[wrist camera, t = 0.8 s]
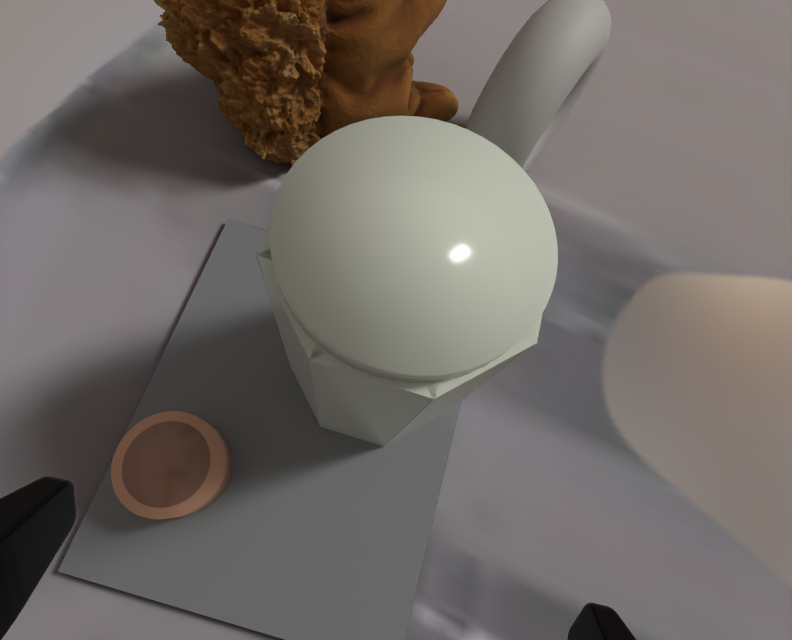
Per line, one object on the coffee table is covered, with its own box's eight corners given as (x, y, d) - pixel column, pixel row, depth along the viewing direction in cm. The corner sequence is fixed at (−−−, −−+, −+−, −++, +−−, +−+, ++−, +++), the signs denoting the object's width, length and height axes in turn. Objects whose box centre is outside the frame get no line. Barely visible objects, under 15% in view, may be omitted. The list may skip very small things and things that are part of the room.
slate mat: (395, 669, 20) (396, 673, 20) (62, 569, 20) (57, 571, 19) (483, 302, 26) (485, 299, 26) (229, 222, 26) (228, 218, 25)
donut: (515, 100, 31) (595, -70, 22) (561, 129, 31) (662, -30, 22) (428, 203, 28) (478, 55, 18) (478, 238, 27) (555, 105, 18)
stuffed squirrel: (467, 115, 30) (559, -144, 18) (272, 229, 26) (220, -9, 14) (368, 11, 32) (392, -287, 20) (172, 102, 28) (48, -207, 16)
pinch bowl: (210, 528, 21) (194, 533, 18) (118, 500, 20) (90, 501, 18) (247, 435, 22) (236, 427, 20) (160, 408, 22) (140, 398, 20)
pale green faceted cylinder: (429, 460, 23) (534, 421, 11) (274, 412, 22) (213, 321, 11) (465, 316, 25) (581, 161, 14) (327, 273, 25) (323, 78, 13)
